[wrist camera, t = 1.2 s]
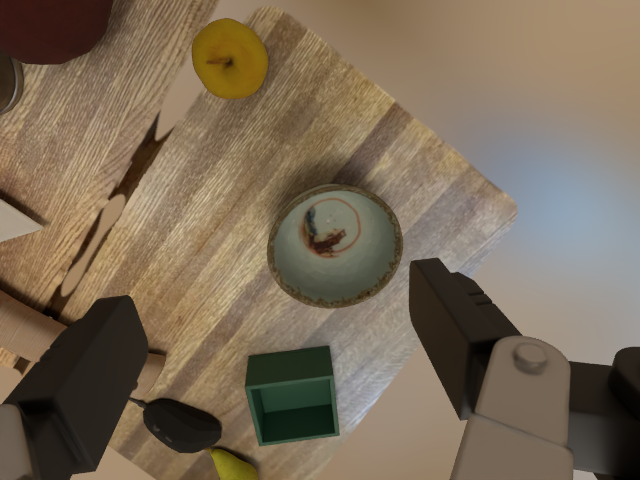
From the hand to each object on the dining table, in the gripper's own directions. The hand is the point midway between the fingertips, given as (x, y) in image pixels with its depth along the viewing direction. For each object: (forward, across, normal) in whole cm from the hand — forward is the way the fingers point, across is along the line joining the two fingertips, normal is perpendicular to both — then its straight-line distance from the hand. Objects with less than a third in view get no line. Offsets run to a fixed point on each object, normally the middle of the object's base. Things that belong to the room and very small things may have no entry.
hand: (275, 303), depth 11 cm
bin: (+31, +3, +35) cm, 47 cm away
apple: (+32, +3, -7) cm, 33 cm away
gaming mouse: (+32, +21, +39) cm, 55 cm away
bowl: (+32, -4, +11) cm, 34 cm away
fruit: (+27, +12, +55) cm, 63 cm away
